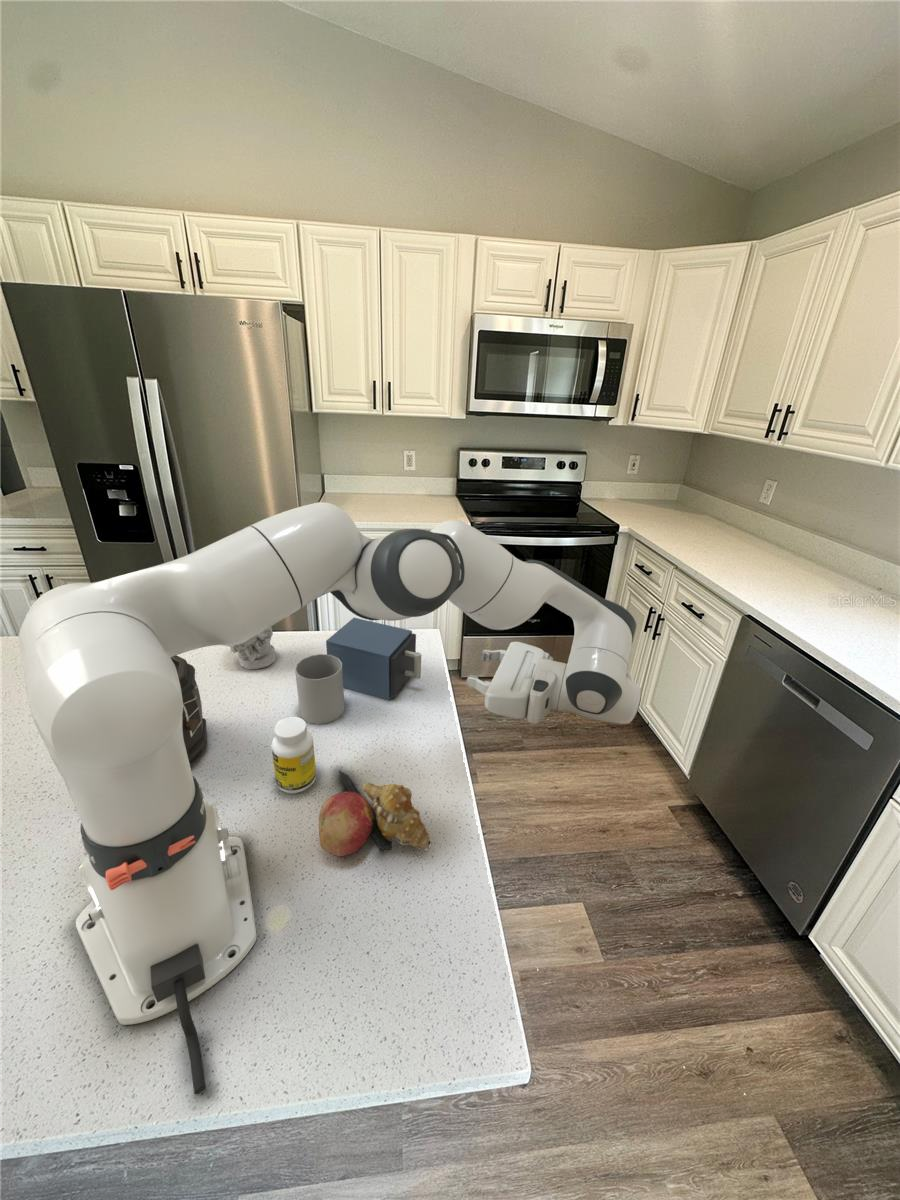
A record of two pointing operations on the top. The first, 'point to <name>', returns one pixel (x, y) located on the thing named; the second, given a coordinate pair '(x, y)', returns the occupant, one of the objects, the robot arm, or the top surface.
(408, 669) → the drawer with handle
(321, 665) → the cup
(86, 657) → the robot arm
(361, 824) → the fruit
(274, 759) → the pill bottle
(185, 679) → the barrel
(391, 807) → the seashell
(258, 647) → the bust
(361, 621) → the blue cabinet
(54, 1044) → the top surface
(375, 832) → the knife
